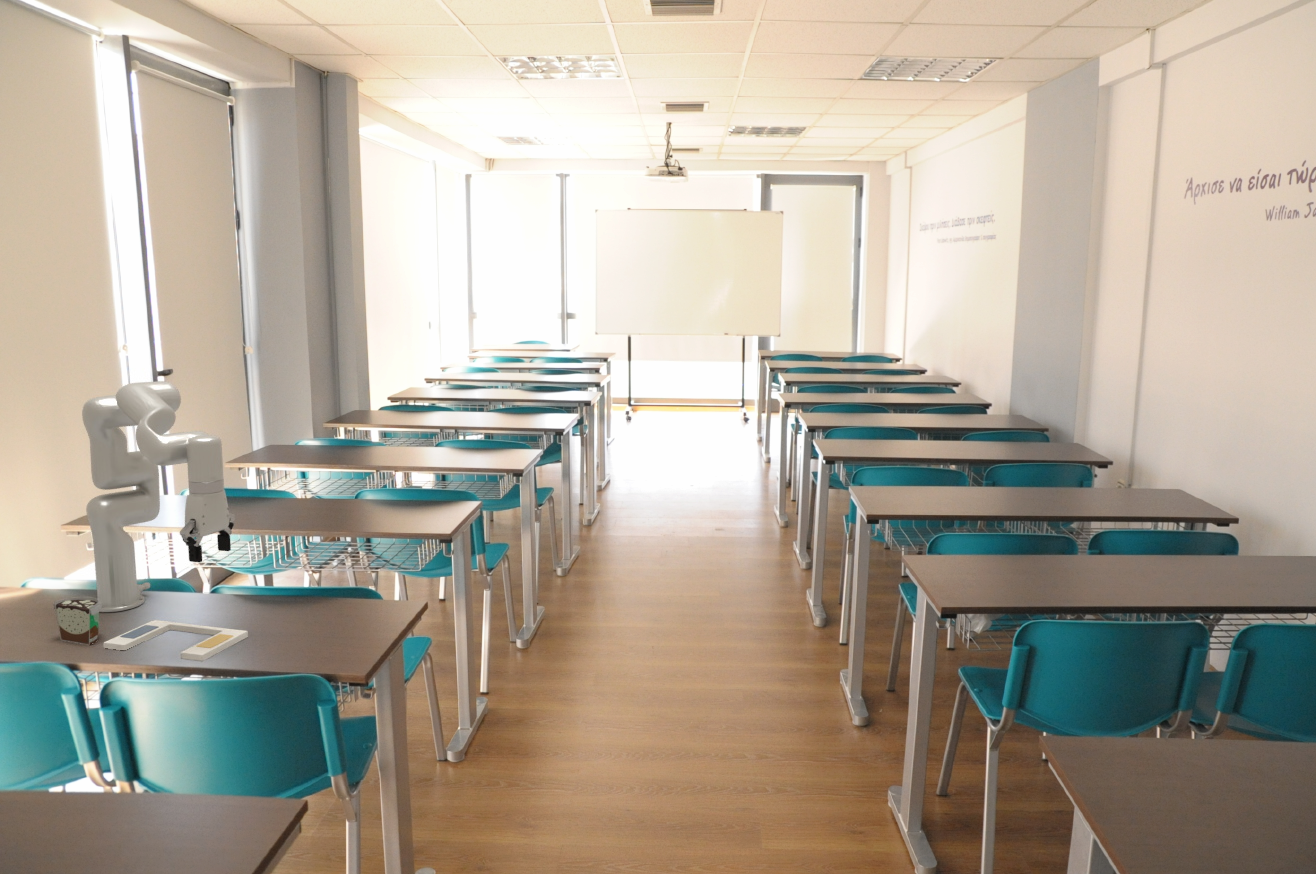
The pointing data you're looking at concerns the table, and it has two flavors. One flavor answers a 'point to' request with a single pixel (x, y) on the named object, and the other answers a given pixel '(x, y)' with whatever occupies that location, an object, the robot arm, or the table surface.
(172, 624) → the label board
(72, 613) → the food container
